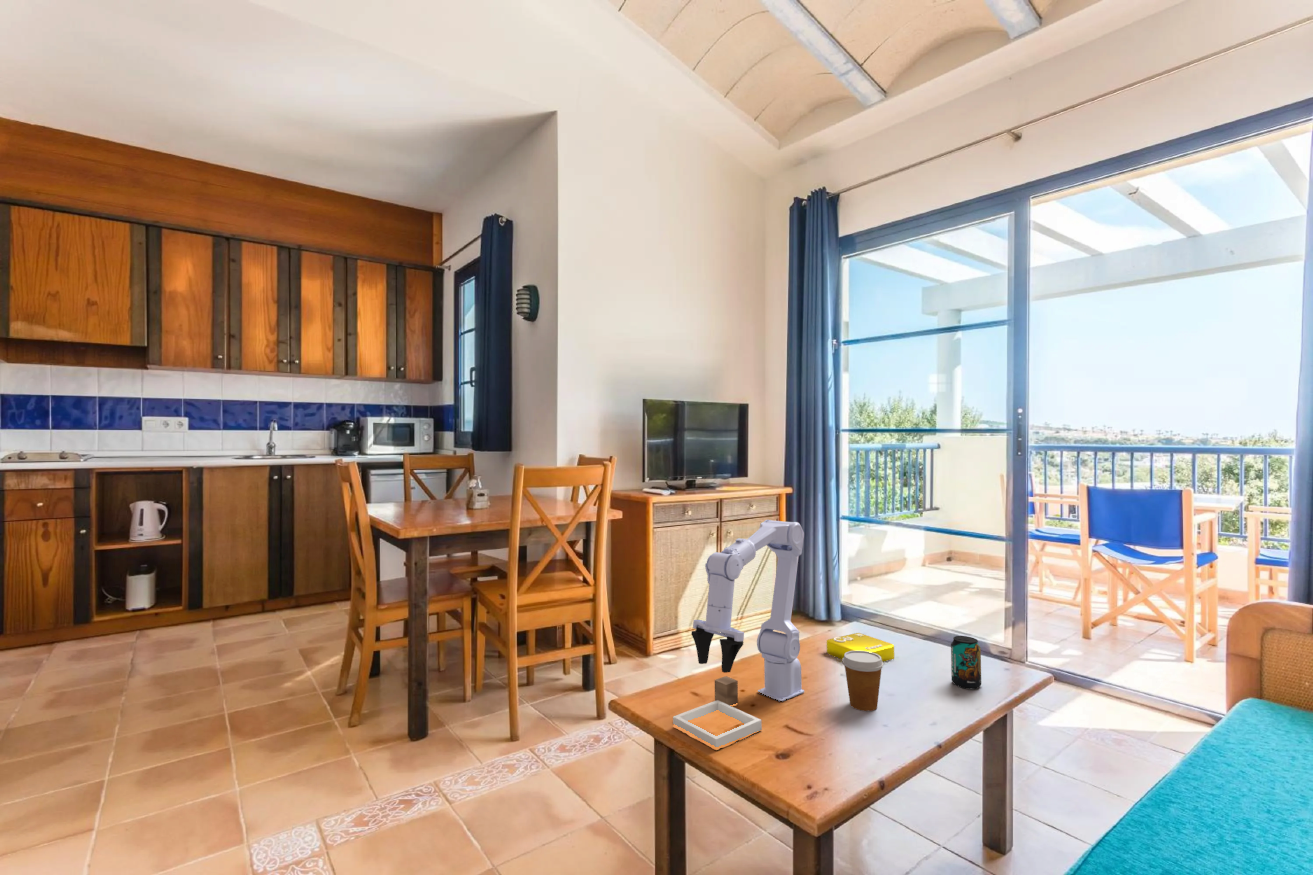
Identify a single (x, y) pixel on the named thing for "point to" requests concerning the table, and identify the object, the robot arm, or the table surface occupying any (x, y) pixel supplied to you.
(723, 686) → the brown rectangular block
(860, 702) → the disposable coffee cup
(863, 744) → the table surface
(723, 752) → the table surface
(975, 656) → the beverage can
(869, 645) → the yellow printed box
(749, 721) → the white tray
